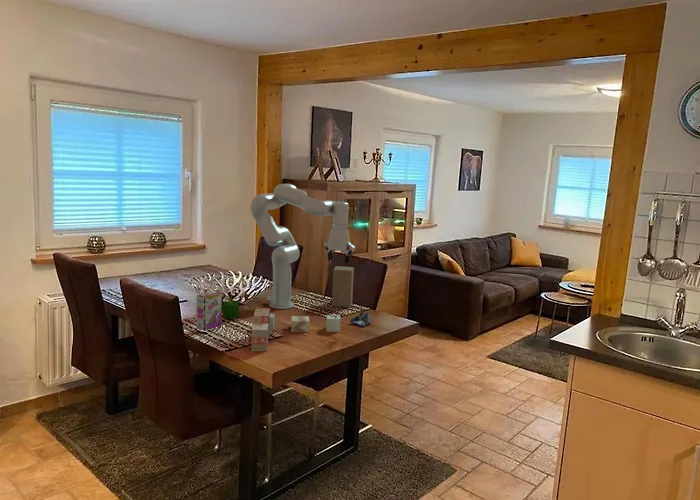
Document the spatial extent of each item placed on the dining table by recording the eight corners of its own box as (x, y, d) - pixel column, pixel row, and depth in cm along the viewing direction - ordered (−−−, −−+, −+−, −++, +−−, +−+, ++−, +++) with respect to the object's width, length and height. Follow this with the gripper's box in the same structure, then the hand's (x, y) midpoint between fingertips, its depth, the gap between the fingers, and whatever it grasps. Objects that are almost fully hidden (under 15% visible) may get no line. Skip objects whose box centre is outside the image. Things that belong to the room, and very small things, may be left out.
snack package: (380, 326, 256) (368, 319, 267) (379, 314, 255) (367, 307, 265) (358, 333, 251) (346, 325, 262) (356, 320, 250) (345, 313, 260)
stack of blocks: (267, 352, 215) (267, 322, 213) (251, 352, 214) (251, 322, 212) (269, 335, 236) (270, 307, 234) (255, 334, 235) (255, 307, 233)
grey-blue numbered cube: (259, 330, 241) (259, 316, 240) (260, 326, 247) (261, 313, 246) (273, 330, 242) (273, 317, 241) (273, 326, 248) (274, 313, 247)
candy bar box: (204, 333, 233) (204, 296, 230) (195, 331, 235) (195, 295, 233) (222, 327, 243) (222, 291, 240) (213, 325, 245) (213, 290, 243)
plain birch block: (291, 332, 241) (291, 321, 241) (291, 326, 249) (291, 316, 249) (309, 332, 242) (309, 321, 242) (308, 326, 250) (308, 316, 249)
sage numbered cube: (326, 331, 244) (327, 318, 243) (326, 327, 250) (326, 314, 249) (340, 331, 244) (340, 318, 243) (339, 327, 250) (339, 314, 249)
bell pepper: (243, 317, 259) (243, 297, 258) (232, 321, 252) (232, 300, 250) (228, 314, 263) (229, 294, 261) (218, 318, 255) (218, 298, 254)
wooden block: (352, 303, 295) (353, 267, 292) (350, 307, 285) (352, 270, 282) (334, 301, 296) (335, 265, 293) (331, 306, 286) (333, 269, 283)
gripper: (321, 226, 265) (319, 260, 268) (351, 229, 256) (349, 265, 259) (329, 224, 271) (328, 258, 274) (359, 228, 262) (357, 263, 265)
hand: (338, 261), depth 266 cm, fingers open, 9 cm apart
